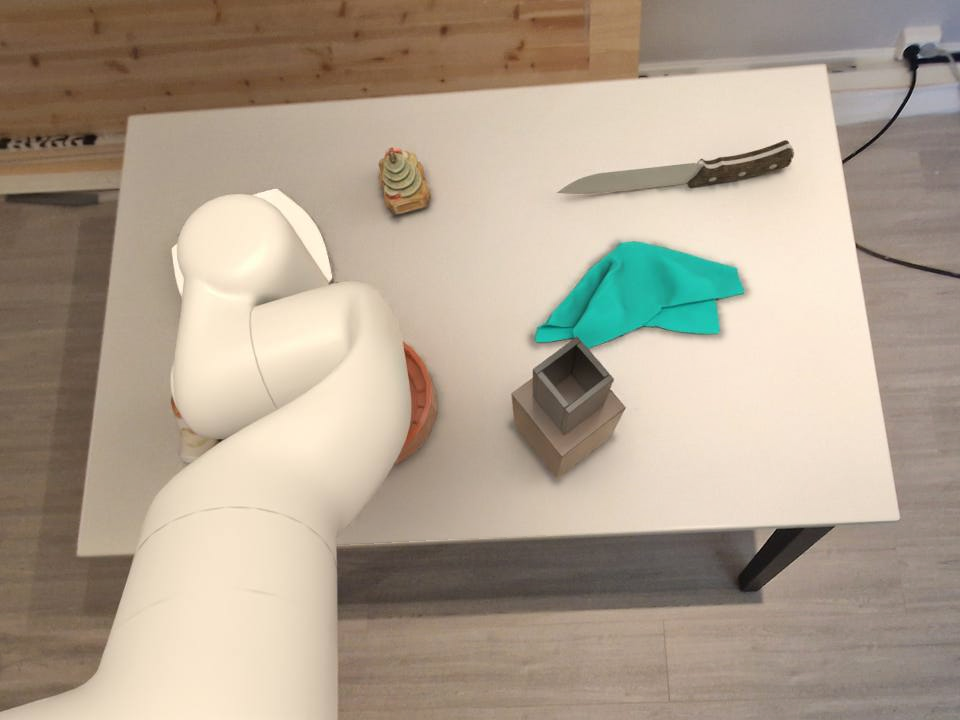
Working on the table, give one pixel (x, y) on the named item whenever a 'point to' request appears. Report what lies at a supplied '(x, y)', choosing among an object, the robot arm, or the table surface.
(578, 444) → the utensil stand
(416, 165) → the ornament
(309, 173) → the table surface
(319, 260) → the plate
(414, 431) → the bowl
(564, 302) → the cloth
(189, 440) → the mug
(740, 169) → the knife
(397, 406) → the robot arm
